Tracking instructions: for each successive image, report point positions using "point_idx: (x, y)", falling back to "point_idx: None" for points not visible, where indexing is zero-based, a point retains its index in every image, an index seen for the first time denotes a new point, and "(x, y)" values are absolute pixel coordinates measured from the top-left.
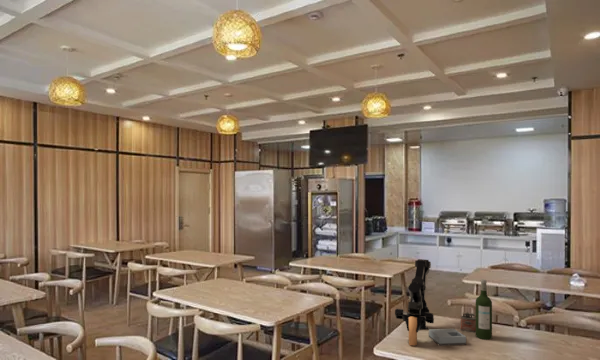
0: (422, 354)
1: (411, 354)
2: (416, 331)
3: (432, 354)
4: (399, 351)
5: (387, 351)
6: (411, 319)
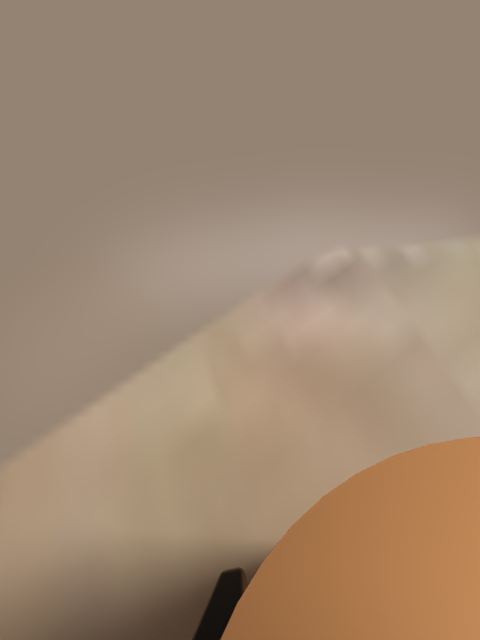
0: (139, 373)
1: (232, 310)
2: (243, 572)
3: (43, 438)
4: (357, 304)
5: (442, 242)
6: (473, 458)
